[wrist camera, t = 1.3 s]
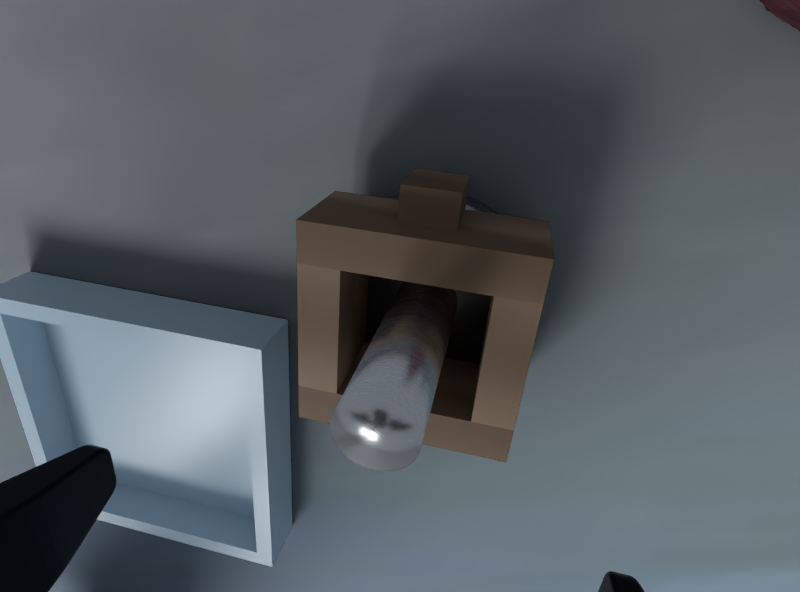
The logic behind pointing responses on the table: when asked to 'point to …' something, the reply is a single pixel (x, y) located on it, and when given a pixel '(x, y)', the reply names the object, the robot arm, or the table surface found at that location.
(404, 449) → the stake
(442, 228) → the ring
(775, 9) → the vegetable
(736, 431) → the table surface
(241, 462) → the tray
